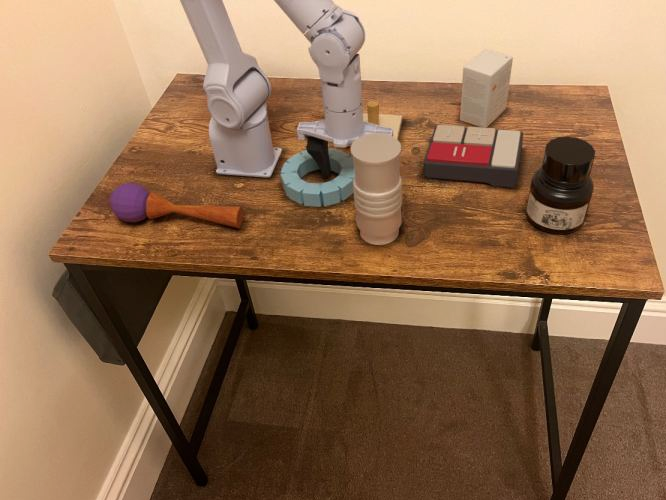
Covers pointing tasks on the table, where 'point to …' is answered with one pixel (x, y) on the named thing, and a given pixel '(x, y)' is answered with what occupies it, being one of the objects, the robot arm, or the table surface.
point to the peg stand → (382, 118)
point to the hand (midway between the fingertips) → (348, 177)
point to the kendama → (166, 207)
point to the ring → (312, 191)
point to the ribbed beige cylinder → (377, 187)
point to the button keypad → (474, 155)
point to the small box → (485, 88)
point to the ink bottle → (562, 186)
